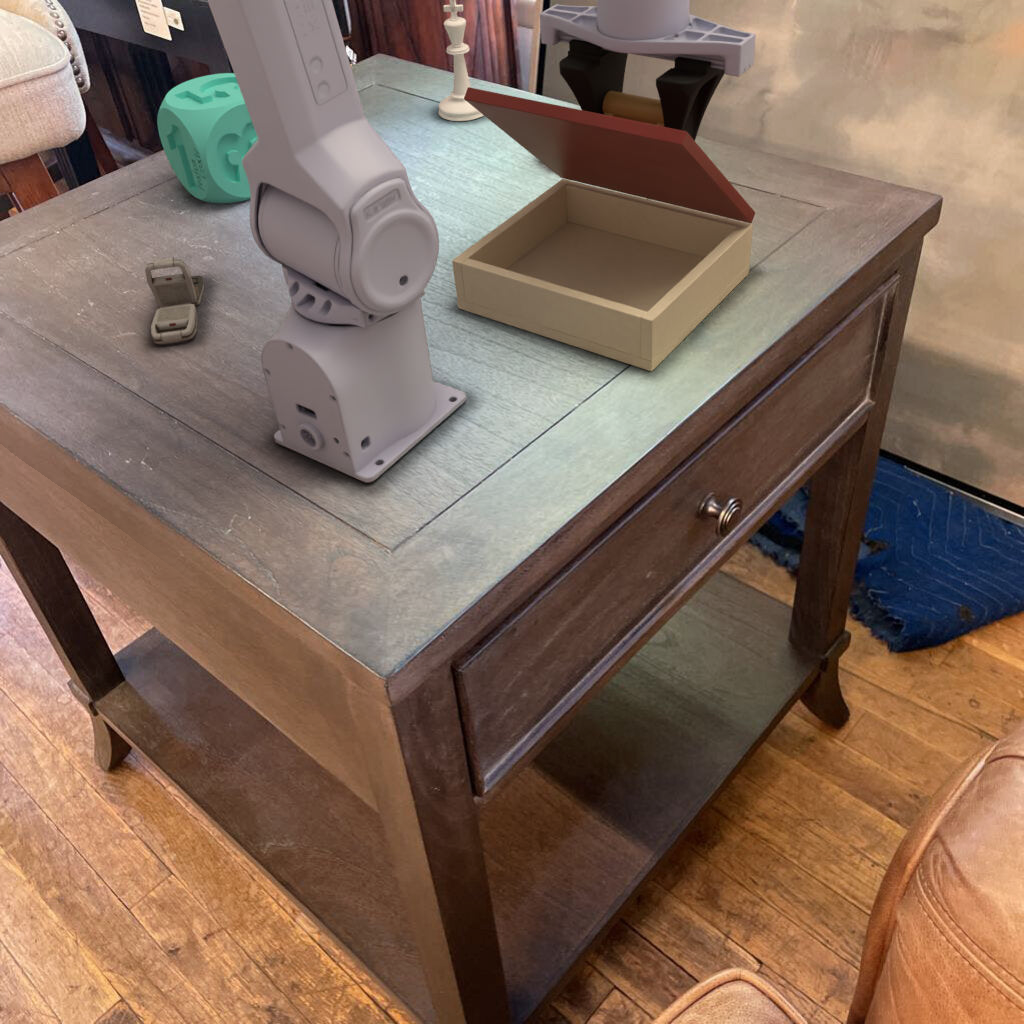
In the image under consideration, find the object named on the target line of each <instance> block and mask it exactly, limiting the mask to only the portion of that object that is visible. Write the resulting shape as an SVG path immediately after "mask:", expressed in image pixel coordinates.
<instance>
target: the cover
mask: <svg viewBox="0 0 1024 1024" xmlns="http://www.w3.org/2000/svg"><path fill="white" fill-rule="evenodd" d="M464 100H466V101H467V102H468V103H469V104H471V105H472V106H473V107H474V108H476V109H477V110H478V111H479V112H480V113H482V114H483V115H484V116H483V117H485V118H487V119H488V120H489V121H490V122H492V124H494V125H495V126H496V127H498V128H499V129H500V130H501V131H502V132H503V133H505V134H506V135H508V136H509V137H510V138H511V139H512V140H513V141H514V142H516V143H517V144H519V145H520V147H522V148H523V149H525V150H526V151H527V152H528V153H530V155H532V156H533V157H534V158H535V159H537V160H538V161H539V162H541V163H542V164H543V165H544V166H545V167H546V168H547V169H549V170H550V171H552V172H553V173H554V174H555V175H556V176H558V177H559V178H560V179H566V180H570V181H573V182H578V183H582V184H586V185H590V186H594V187H598V188H603V189H607V190H611V191H615V192H619V193H623V194H627V195H632V196H636V197H640V198H644V199H648V200H652V201H656V202H661V203H665V204H669V205H673V206H677V207H681V208H685V209H690V210H694V211H698V212H702V213H706V214H710V215H715V216H719V217H723V218H727V219H731V220H735V221H739V222H744V223H749V224H752V223H753V220H754V218H755V215H756V211H755V210H754V209H753V208H752V207H751V206H750V204H749V203H748V202H747V201H746V200H745V198H744V197H743V196H742V195H741V194H740V192H739V191H738V190H737V189H736V188H735V187H734V185H733V184H732V183H731V182H730V181H729V180H728V178H727V177H726V176H725V175H724V174H723V172H721V170H720V169H719V168H718V167H717V165H716V164H715V163H714V161H712V160H711V158H710V157H709V156H708V155H707V154H706V152H705V151H704V150H703V148H701V146H700V145H699V144H698V143H697V142H696V140H695V141H694V140H693V138H692V137H691V136H690V135H689V134H688V133H687V132H686V131H682V130H677V129H672V128H667V127H664V119H663V113H662V107H661V102H660V99H657V98H653V97H647V96H642V95H636V94H631V93H626V92H623V93H621V92H616V91H609V92H607V94H606V95H605V97H604V100H603V113H604V115H603V114H598V113H593V112H588V111H583V110H581V109H579V108H572V107H568V106H563V105H559V104H558V105H557V104H553V103H548V102H543V101H538V100H534V99H529V98H523V97H520V96H519V97H518V96H514V95H509V94H504V93H500V92H499V93H498V92H495V91H494V92H493V91H490V90H483V89H479V88H474V87H471V88H470V87H468V88H467V91H466V94H465V97H464Z"/></svg>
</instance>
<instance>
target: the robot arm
mask: <svg viewBox="0 0 1024 1024" xmlns="http://www.w3.org/2000/svg"><path fill="white" fill-rule="evenodd" d="M690 2H691V1H690V0H596V6H595V5H594V6H593V5H592V6H591V5H589V6H588V5H566V4H559V3H555V5H553V6H550V7H549V8H547V9H545V10H544V11H542V12H540V13H539V24H540V25H539V26H540V41H541V44H543V45H548V46H555V45H558V44H559V43H562V44H563V43H564V44H568V45H569V47H568V48H569V49H568V51H567V56H565V57H564V58H562V59H561V60H560V61H559V63H558V64H559V65H558V67H559V74H560V76H561V77H562V78H563V80H564V81H565V83H566V84H567V85H568V87H569V89H570V90H571V92H572V94H573V96H574V97H575V99H576V101H577V103H578V106H579V108H580V110H583V111H588V112H593V113H598V114H603V115H604V113H603V100H604V97H605V95H606V94H607V92H609V91H616V92H621V93H624V83H625V75H626V67H627V62H628V56H629V55H635V56H642V57H647V58H652V59H653V58H654V59H659V60H664V61H670V62H674V66H673V67H671V68H669V69H668V70H666V71H665V72H664V73H662V74H661V75H659V76H658V77H657V78H656V79H655V86H656V90H657V94H658V97H659V100H660V102H661V107H662V113H663V119H664V127H667V128H672V129H677V130H682V131H686V132H687V133H688V134H689V135H690V136H691V137H692V138H693V140H694V141H695V142H696V139H697V136H698V133H699V129H700V126H701V123H702V121H703V119H704V116H705V113H706V111H707V108H708V106H709V105H710V102H711V100H712V98H713V95H714V94H715V92H716V90H717V88H718V86H719V85H720V82H721V81H722V79H723V77H724V75H727V76H732V77H737V78H739V77H741V76H743V74H745V73H746V72H747V71H749V70H750V69H751V68H752V67H753V66H755V53H756V52H755V51H756V36H757V34H756V33H754V32H748V31H743V30H738V29H735V28H732V27H728V26H726V25H723V24H720V23H717V22H714V21H711V20H709V19H705V18H702V17H699V16H697V15H694V14H691V13H690V7H691V6H690V4H691V3H690ZM207 3H208V6H209V7H210V8H209V9H210V11H211V14H212V16H213V17H212V18H213V19H214V22H215V25H216V28H217V31H218V33H219V36H220V38H221V41H222V44H223V46H224V47H223V48H224V49H225V52H226V55H227V57H228V58H227V59H228V60H229V62H230V66H231V68H232V71H233V73H234V74H235V77H236V79H237V82H238V85H239V88H240V90H241V93H242V96H243V98H244V101H245V104H246V107H247V109H248V112H249V115H250V117H251V120H252V123H253V126H254V128H255V131H256V134H257V137H258V139H257V141H256V142H255V143H254V144H253V145H252V147H251V148H250V149H249V151H248V152H247V153H246V155H245V156H244V158H243V160H242V165H243V167H244V170H245V173H246V175H247V178H248V182H249V185H250V194H251V199H249V200H250V202H249V203H250V204H249V227H250V231H251V235H252V237H253V240H254V242H255V243H256V245H257V247H258V249H259V250H260V251H261V252H262V253H263V254H264V256H266V257H267V258H268V259H270V260H272V261H273V262H275V263H277V264H279V265H281V269H282V273H283V276H284V281H285V284H286V285H287V287H288V293H289V298H290V305H289V308H288V309H289V310H288V312H287V314H286V316H285V318H284V320H283V322H282V324H281V325H280V327H279V328H278V329H277V330H276V332H274V334H273V335H272V336H271V337H270V338H269V339H268V340H267V341H266V342H265V343H264V344H263V347H262V349H261V356H260V361H261V362H260V363H261V368H262V372H263V375H264V379H265V383H266V386H267V390H268V393H269V397H270V400H271V404H272V407H273V411H274V414H275V417H276V421H277V424H278V428H279V429H278V430H277V431H276V432H275V433H274V435H273V438H274V441H275V443H276V444H278V445H281V446H282V447H285V448H287V449H290V450H292V451H294V452H296V453H298V454H300V455H303V456H305V457H307V458H310V459H312V460H314V461H316V462H318V463H320V464H322V465H325V466H328V467H330V468H332V469H333V470H336V471H339V472H341V473H343V474H346V475H347V476H350V477H353V478H355V479H356V480H358V481H361V482H364V483H373V482H374V481H375V480H377V479H378V478H379V477H380V476H381V475H383V474H384V473H385V472H386V471H387V470H388V469H390V468H391V467H392V466H393V465H394V464H395V463H396V462H398V461H399V460H400V459H401V458H402V457H403V456H404V455H406V454H407V453H408V452H409V451H410V450H412V449H413V448H414V447H415V446H416V445H417V444H418V443H419V442H421V440H423V439H425V437H427V436H428V435H429V433H431V432H432V431H433V430H434V429H436V428H437V427H438V426H439V425H440V424H441V423H443V422H444V421H445V420H446V419H447V418H448V417H449V416H451V414H453V413H454V412H455V411H456V410H457V409H458V408H460V407H461V406H462V405H463V404H464V403H466V401H467V394H466V392H465V391H462V390H460V389H457V388H455V387H452V386H448V385H447V384H443V383H442V382H438V381H435V380H434V376H433V370H432V362H431V357H430V350H429V344H428V337H427V332H426V324H425V318H424V313H423V306H422V300H421V298H423V297H424V296H425V295H426V291H425V289H426V288H427V287H428V285H429V283H430V281H431V280H432V277H433V274H434V272H435V270H436V267H437V263H438V259H439V253H440V238H439V231H438V226H437V223H436V221H435V219H434V217H433V215H432V214H431V211H429V209H428V208H427V207H426V206H425V205H424V204H423V203H421V202H420V200H419V199H418V198H417V195H416V194H415V193H414V191H413V189H412V186H411V183H410V180H409V175H408V173H407V169H406V167H405V165H404V164H403V162H402V161H401V160H400V159H399V158H398V157H397V155H396V154H395V153H394V152H393V150H392V149H391V148H390V147H389V145H388V144H387V143H386V142H385V141H384V140H383V138H382V137H381V136H380V135H379V133H378V132H377V131H376V130H375V129H374V128H373V126H372V125H371V123H370V122H369V121H368V119H367V117H366V116H365V113H364V109H363V106H362V105H363V104H362V102H361V98H360V95H359V91H358V88H357V84H356V81H355V77H354V74H353V70H352V66H351V63H350V60H349V56H348V52H347V49H346V45H345V42H344V38H343V35H342V32H341V28H340V25H339V21H338V18H337V14H336V10H335V7H334V3H333V0H207Z"/></svg>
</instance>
